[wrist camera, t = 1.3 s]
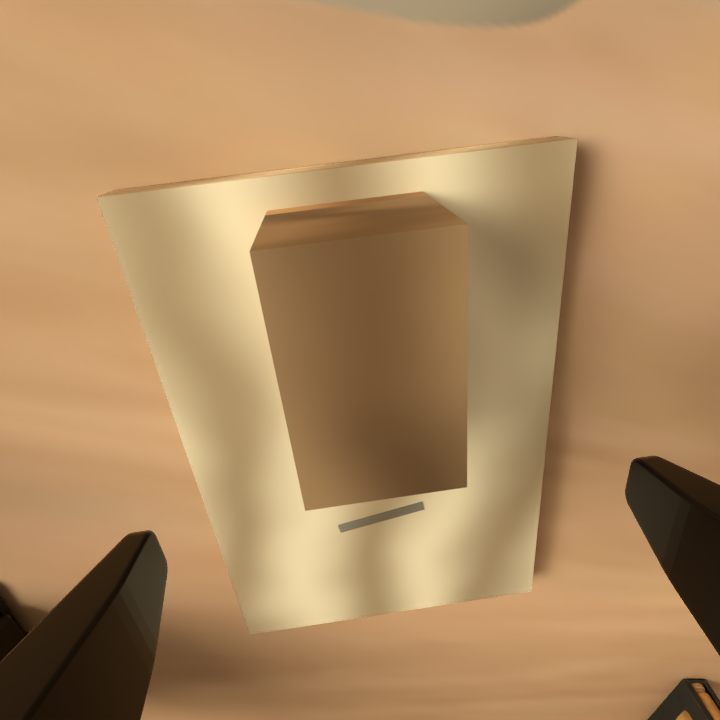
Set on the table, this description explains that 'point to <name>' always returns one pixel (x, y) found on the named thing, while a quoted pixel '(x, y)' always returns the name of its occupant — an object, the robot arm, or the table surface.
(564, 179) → the pine board
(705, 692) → the ammunition clip
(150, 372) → the table surface
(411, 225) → the block
